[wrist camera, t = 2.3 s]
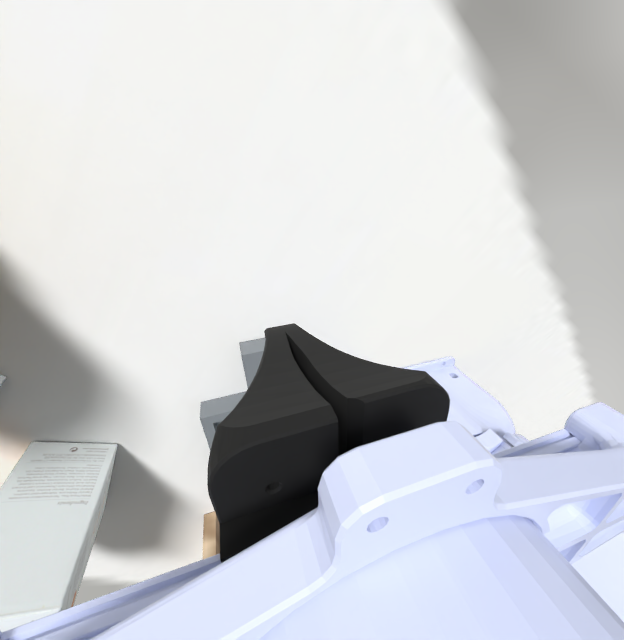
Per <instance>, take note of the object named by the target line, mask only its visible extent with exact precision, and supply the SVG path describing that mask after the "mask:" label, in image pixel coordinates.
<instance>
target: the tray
mask: <svg viewBox="0 0 624 640" xmlns="http://www.w3.org/2000/svg"><path fill="white" fill-rule="evenodd" d="M265 339H266V338H261V339H256V340H251V341H246V342H241V343H240V350H241V356H242V361H243V366H244V371H245V376H246V381H247V386H248V388H249V386H250V384H251V383H252V381H253V379H254V377H255V375H256V373H257V370H258V368H259V365H260V362H261V359H262V356H263V352H264V347H265ZM245 393H246V392H242V393H238V394H233V395H229V396H225V397H221V398H216V399H212V400H208V401H204V402H201V411H200V420H201V423H202V426H203V429H204V432H205V435H206V438H207V441H208V445H209V448H210V451H211V446H212V442H213V439H214V435H215V432H216V429H217V426H218V425H219V424H220V423H221V422H222V421H223V420H224V419H225V418H226V417H227V416H228V415H229V414H230V413H231V412H232V410H233V409H234V408H235V407H236V405H237V404H238V403H239V401H240V400H241V399H242V397H243V396H244V394H245Z"/></svg>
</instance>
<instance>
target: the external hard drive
mask: <svg viewBox="0 0 624 640" xmlns="http://www.w3.org/2000/svg"><path fill="white" fill-rule="evenodd" d="M6 378H7V377H5V376H2V375H0V387H1V385H2V384H3V382H4V381H5V380H6Z"/></svg>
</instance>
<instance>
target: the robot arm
mask: <svg viewBox="0 0 624 640" xmlns="http://www.w3.org/2000/svg"><path fill="white" fill-rule="evenodd" d="M264 332H265V338H266V339H265V347H264V352H263V356H262V359H261V362H260V365H259V368H258V370H257V373H256V375H255V377H254V379H253V381H252V383H251V384H250V386H249V388H248V390H247V391H246V393H245V394H244V396H243V397H242V399H241V400H240V401H239V403H238V404H237V405H236V407H235V408H234V409H233V410H232V412H231V413H230V414H229V415H228V416H227V417H226V418H225V419H224V420H223V421H222V422H221V423H220V424H219V425H218V426H217V429H216V432H215V435H214V439H213V442H212V446H211V451H210V456H209V463H208V492H209V496H210V499H211V502H212V504H213V507H214V510H215V513H216V515H217V518H218V521H219V524H220V554H217V555H214V556H211V557H209V558H206V559H203V560H200V561H198V562H195V563H192V564H189V565H186V566H184V567H181V568H178V569H175V570H173V571H170V572H167V573H164V574H162V575H159V576H156V577H153V578H151V579H148V580H145V581H142V582H140V583H137V584H134V585H131V586H129V587H126V588H123V589H120V590H118V591H115V592H112V593H109V594H107V595H104V596H101V597H98V598H96V599H93V600H90V601H87V602H85V603H82V604H79V605H76V606H73V607H71V608H68V609H65V610H62V611H60V612H57V613H54V614H51V615H49V616H46V617H43V618H40V619H38V620H35V621H32V622H29V623H27V624H24V625H21V626H18V627H15V628H13V629H10V630H7V631H4V632H1V631H0V640H624V415H623V414H621V413H619V412H617V411H616V410H614V409H613V408H611V407H609V406H608V405H606V404H604V403H602V402H597V403H594V404H591V405H589V406H586V407H583V408H580V409H578V410H576V411H574V412H573V413H572V414H571V415H570V416H569V418H568V419H567V421H566V423H565V428H564V429H562V430H559V431H556V432H553V433H551V434H548V435H545V436H542V437H540V438H537V439H534V440H531V441H529V440H527V439H526V438H525V437H523V436H522V435H520V434H515V427H514V424H513V422H512V419H511V418H510V416H509V414H508V413H507V411H506V410H505V408H504V407H503V406H502V405H501V404H500V402H499V401H497V400H496V399H495V398H494V397H493V396H491V395H490V394H489V393H488V392H486V391H485V390H484V389H483V388H481V387H480V386H479V385H478V384H476V383H475V382H474V381H473V380H471V379H470V378H469V377H468V376H466V375H465V374H464V373H463V372H461V371H460V370H459V369H457V368H456V367H455V366H454V363H455V359H454V358H453V357H446V358H442V359H438V360H434V361H430V362H426V363H422V364H418V365H414V366H410V367H406V368H396V367H391V366H386V365H381V364H377V363H373V362H370V361H366V360H363V359H360V358H357V357H354V356H351V355H349V354H346V353H344V352H342V351H339V350H337V349H335V348H333V347H331V346H329V345H327V344H326V343H324V342H322V341H320V340H319V339H317V338H315V337H314V336H312V335H311V334H309V333H308V332H306V331H305V330H303V329H302V328H300V327H299V326H297V325H296V324H288V325H283V326H277V327H272V328H267V329H266V330H265V331H264Z"/></svg>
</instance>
